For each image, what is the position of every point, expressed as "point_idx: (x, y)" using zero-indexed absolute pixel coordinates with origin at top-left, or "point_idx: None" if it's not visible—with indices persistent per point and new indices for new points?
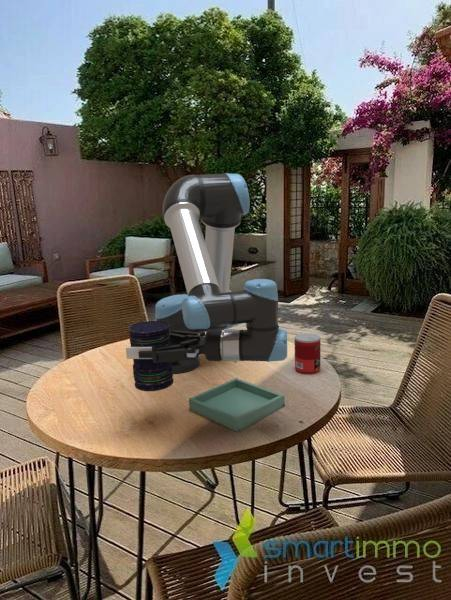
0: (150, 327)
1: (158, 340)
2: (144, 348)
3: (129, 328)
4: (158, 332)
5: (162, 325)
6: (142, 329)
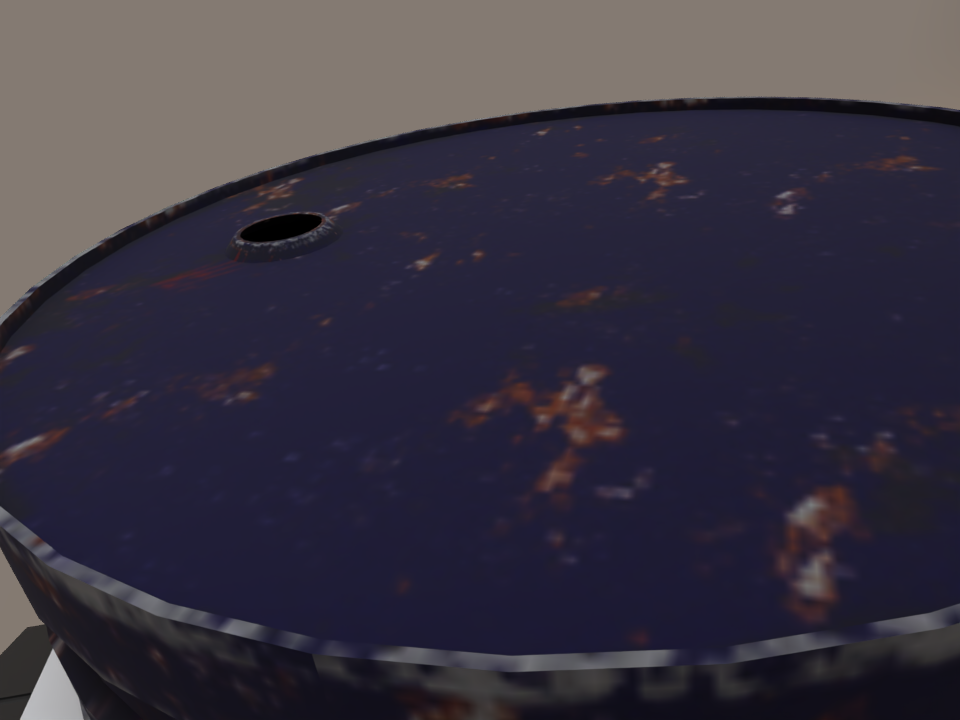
0: (527, 262)
1: None
2: (50, 662)
3: (404, 141)
4: (53, 608)
5: (896, 379)
6: (342, 235)
